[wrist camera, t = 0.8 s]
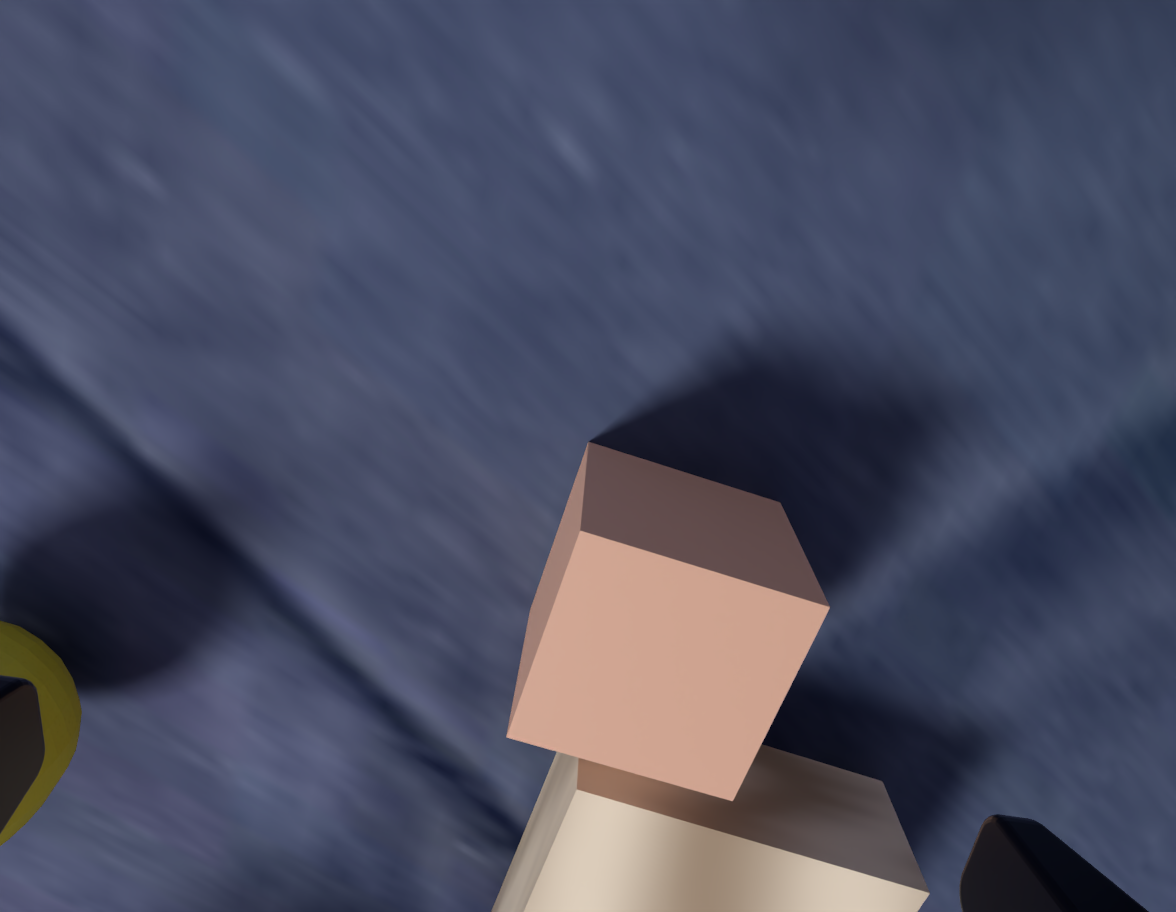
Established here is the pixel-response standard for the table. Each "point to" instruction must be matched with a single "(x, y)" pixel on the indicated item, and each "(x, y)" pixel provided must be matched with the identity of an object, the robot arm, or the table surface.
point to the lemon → (42, 713)
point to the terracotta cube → (664, 625)
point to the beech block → (713, 844)
